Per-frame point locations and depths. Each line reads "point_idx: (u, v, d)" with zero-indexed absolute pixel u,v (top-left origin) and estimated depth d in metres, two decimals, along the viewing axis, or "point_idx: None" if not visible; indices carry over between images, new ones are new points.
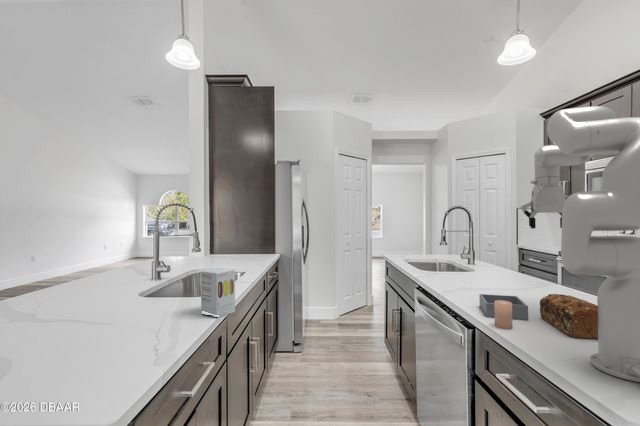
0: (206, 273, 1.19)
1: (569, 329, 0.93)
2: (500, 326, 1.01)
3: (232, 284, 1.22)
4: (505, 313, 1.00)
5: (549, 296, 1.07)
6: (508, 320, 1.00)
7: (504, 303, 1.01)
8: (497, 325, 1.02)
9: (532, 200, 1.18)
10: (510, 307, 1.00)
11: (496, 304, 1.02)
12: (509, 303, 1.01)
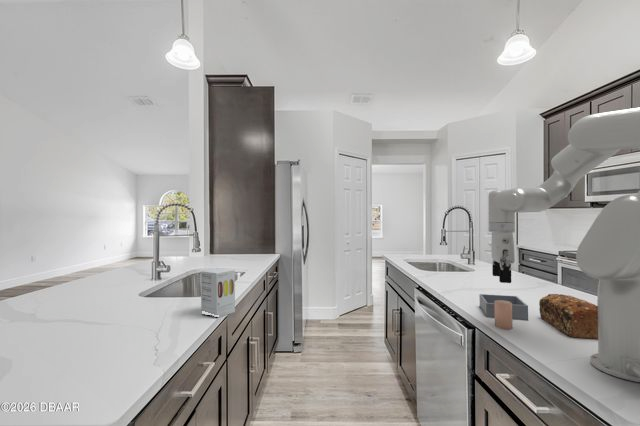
0: (206, 273, 1.19)
1: (568, 329, 0.93)
2: (500, 326, 1.01)
3: (232, 284, 1.22)
4: (505, 313, 1.00)
5: (549, 296, 1.07)
6: (508, 320, 1.00)
7: (504, 303, 1.01)
8: (497, 325, 1.02)
9: (507, 249, 0.98)
10: (510, 307, 1.00)
11: (496, 304, 1.02)
12: (509, 303, 1.01)
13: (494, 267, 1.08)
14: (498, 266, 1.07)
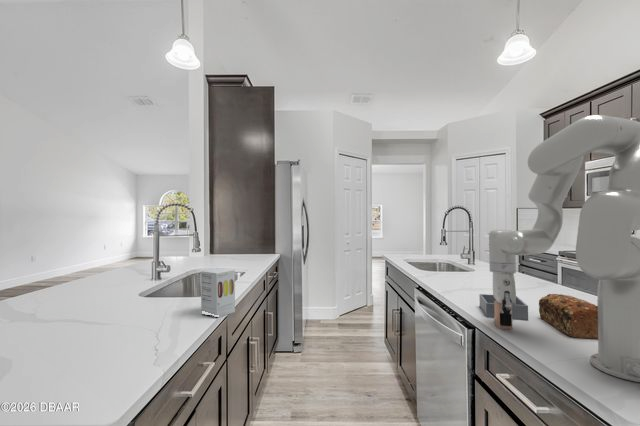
0: (206, 273, 1.19)
1: (568, 329, 0.93)
2: (500, 326, 1.01)
3: (232, 284, 1.22)
4: None
5: (548, 296, 1.07)
6: None
7: None
8: (497, 325, 1.02)
9: (509, 291, 0.98)
10: None
11: (496, 304, 1.02)
12: None
13: None
14: None
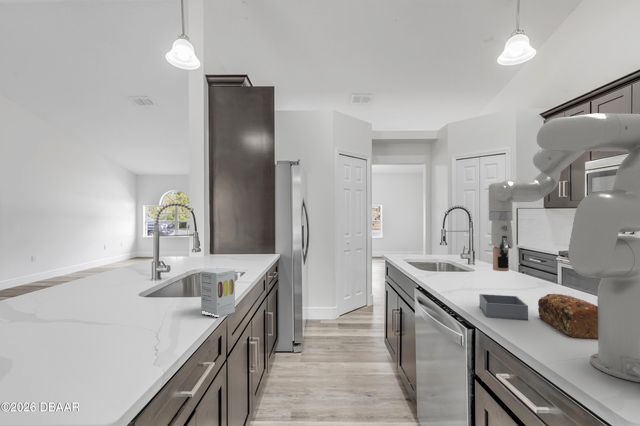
0: (206, 273, 1.19)
1: (568, 329, 0.93)
2: (498, 269, 1.12)
3: (232, 284, 1.22)
4: None
5: (548, 296, 1.07)
6: None
7: None
8: (495, 268, 1.13)
9: (506, 235, 1.09)
10: None
11: (494, 249, 1.13)
12: None
13: None
14: None
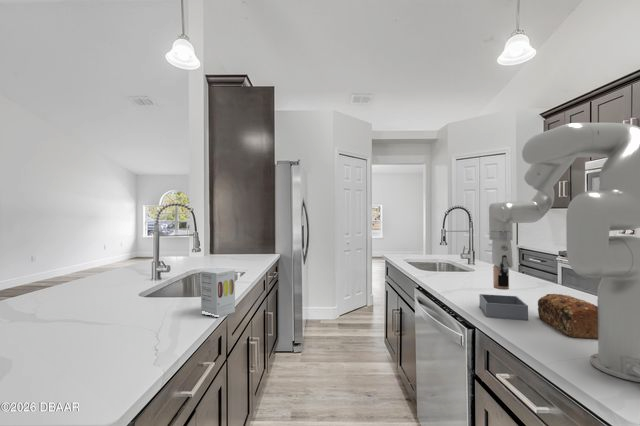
0: (206, 273, 1.19)
1: (568, 329, 0.93)
2: (498, 287, 1.15)
3: (232, 284, 1.22)
4: None
5: (547, 296, 1.07)
6: None
7: None
8: (495, 286, 1.16)
9: (506, 255, 1.11)
10: None
11: (495, 268, 1.16)
12: None
13: None
14: None
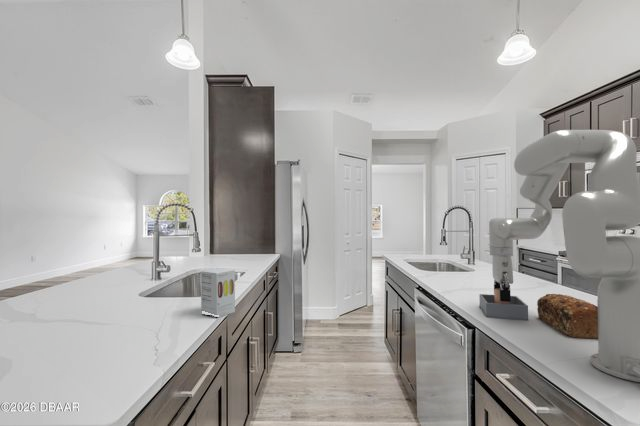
0: (206, 273, 1.19)
1: (568, 329, 0.93)
2: None
3: (232, 284, 1.22)
4: None
5: (547, 296, 1.07)
6: None
7: None
8: None
9: (506, 271, 1.11)
10: None
11: (496, 291, 1.15)
12: None
13: (495, 287, 1.20)
14: (499, 286, 1.20)
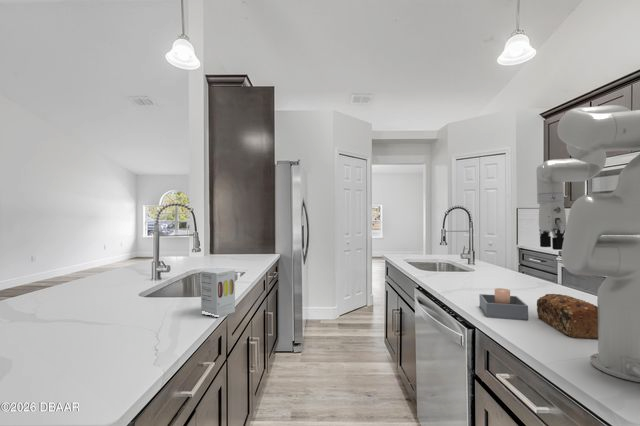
0: (206, 273, 1.19)
1: (568, 329, 0.93)
2: None
3: (232, 284, 1.22)
4: (504, 299, 1.13)
5: (546, 296, 1.07)
6: None
7: (503, 290, 1.14)
8: None
9: (559, 217, 1.04)
10: (508, 294, 1.14)
11: (496, 291, 1.15)
12: (508, 290, 1.14)
13: (542, 238, 1.13)
14: (546, 237, 1.13)
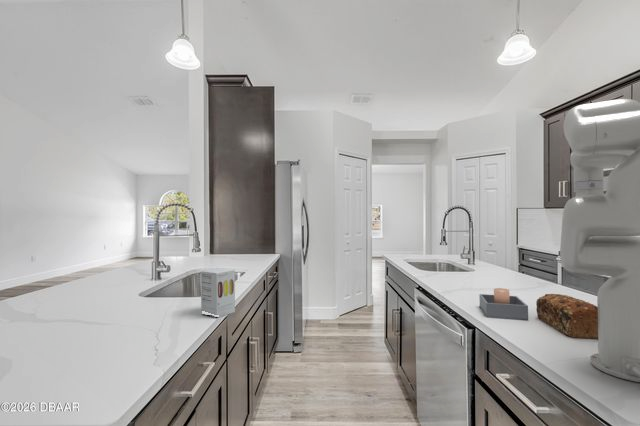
0: (206, 273, 1.19)
1: (568, 329, 0.93)
2: None
3: (232, 284, 1.22)
4: (503, 299, 1.13)
5: (546, 296, 1.07)
6: None
7: (502, 290, 1.14)
8: None
9: None
10: (508, 294, 1.14)
11: (495, 292, 1.15)
12: (507, 290, 1.14)
13: None
14: None
